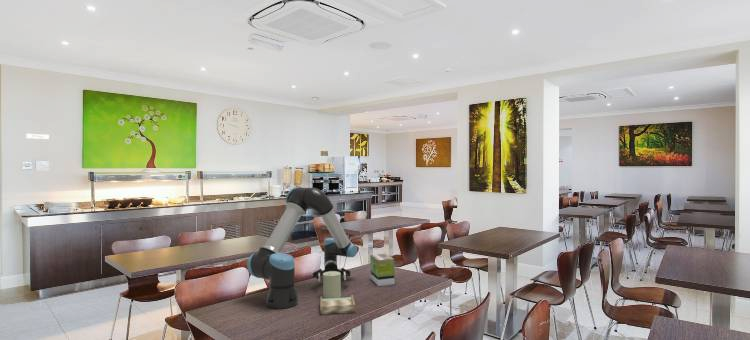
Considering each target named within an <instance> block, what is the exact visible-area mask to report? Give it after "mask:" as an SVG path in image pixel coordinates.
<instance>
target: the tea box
mask: <svg viewBox="0 0 750 340" xmlns="http://www.w3.org/2000/svg"><path fill="white" fill-rule="evenodd" d="M369 257H370V258H369V260H370V263H369V265H370V279H371V280H372V281H373V282H374V284H376V285H377V286H378V287H381V286H382V287H383V286H393V285H395V279H396V278H395V258H394V257H392V256H391V255H389V254H387V253H375V254H370V256H369Z"/></svg>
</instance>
